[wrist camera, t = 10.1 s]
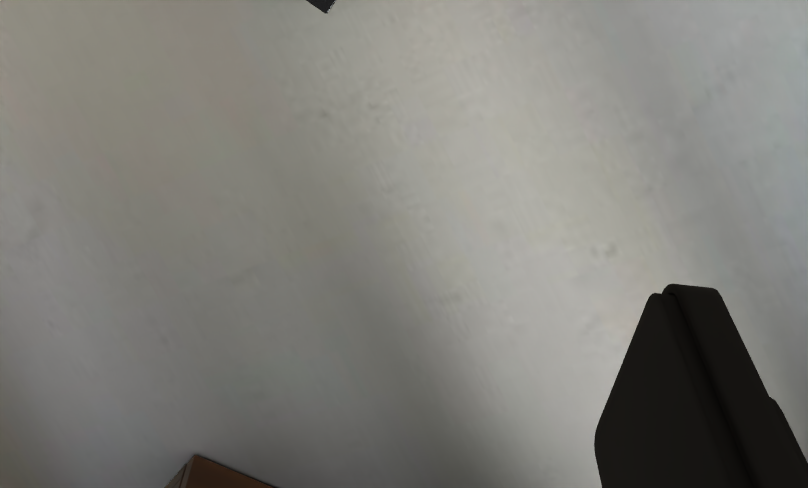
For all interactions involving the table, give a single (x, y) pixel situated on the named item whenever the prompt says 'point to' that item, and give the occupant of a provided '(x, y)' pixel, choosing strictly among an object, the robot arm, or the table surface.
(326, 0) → the valve panel
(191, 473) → the cabinet door
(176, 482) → the cabinet
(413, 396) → the table surface
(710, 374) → the robot arm
